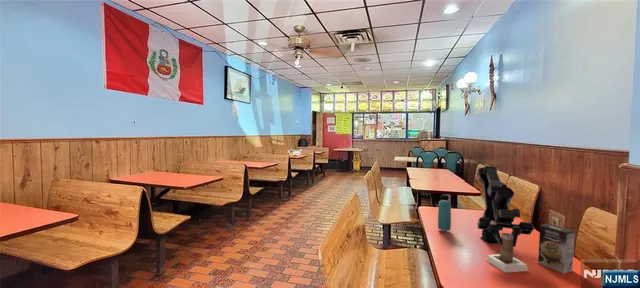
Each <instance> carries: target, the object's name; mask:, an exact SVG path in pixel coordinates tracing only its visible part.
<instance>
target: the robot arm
mask: <svg viewBox="0 0 640 288" xmlns="http://www.w3.org/2000/svg"><path fill="white" fill-rule="evenodd" d="M476 175H477V177H478V181H479V182H480V183H481V184H482V188H483V196H484V197H483V198H484V207H485V210H484V211H483V214H482V216H481V217H479V218H478V220H477V228H478V230H481V236H480V237H479V238H480V239H481V240H483V241H485V242H486V243H489V244H497V243H498V244H499V245H500V246H501V245H502V240H501V237H502V236H501V234H500V231H501V232H502V231H503V229H504V228H505V229H509V230H510V229H511V230H512V232H511V233H510V234H511V235H513V239H514V242H513V248H515V247H516V245H517V241H518V236H520V235H522V234H523V235H529V236H530V235H531V234H532V232H533V231H534V229H535V226H534V224H533V223H532V222H530V221H520V222H519V223H518V224H516V223H514V221H515V220H516V218H520V217H521V212H520V209H518V208H513V209H510V206H509V205H510V204H511V202H512V201H513V197H514V194H515V192H514V190H513V189H512V188H511V187H509V186H508V185H507V184H505V183H504V182H502V181H501V180H500V177H499V174H498V169H497V167H496V166H494V165H493V166H491V165H485V166H483V167H479V168H478V169H477V170H476Z"/></svg>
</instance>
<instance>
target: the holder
mask: <svg viewBox="0 0 640 288" xmlns="http://www.w3.org/2000/svg"><path fill="white" fill-rule="evenodd" d="M486 262H488V263H489V264H491V265H492V266H494V267H496V268H498V269H499V270H500V271H502V272H503V273H517V272H527V271H528V264H527V263H525V262H523V261H521V260H520V259H518V258H516V257H514V256H513V262H512V263H506V262H503V261H501V260H500V253H496V254H487V255H486Z"/></svg>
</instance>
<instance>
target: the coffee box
mask: <svg viewBox="0 0 640 288" xmlns="http://www.w3.org/2000/svg"><path fill="white" fill-rule="evenodd" d="M575 238H576V231H575V230H574V229H569V228H566V227H563V226H559V225H555V224H552V223H544V224H540V225H539V240H538V256H537V257H538V260H537V264H539V265H540V266H541V265H542V266H544V267H546V268H548V269H552V270H553V271H557V272H558V273H561V274H567V273H570V272H573V271H572V270H573V269H574V267H573V266H574V264H573V263H574V253H575Z"/></svg>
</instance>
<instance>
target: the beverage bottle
mask: <svg viewBox="0 0 640 288" xmlns="http://www.w3.org/2000/svg"><path fill="white" fill-rule="evenodd" d="M449 199H450V198H449V194H445V193H444V194H443V193H442V194H441V195H440V200H439V201H438V211H437V228H438V229H439V230H440V231H444V232H445V231H446V232H447V231H451V228H452V203H451V201H449Z"/></svg>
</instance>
